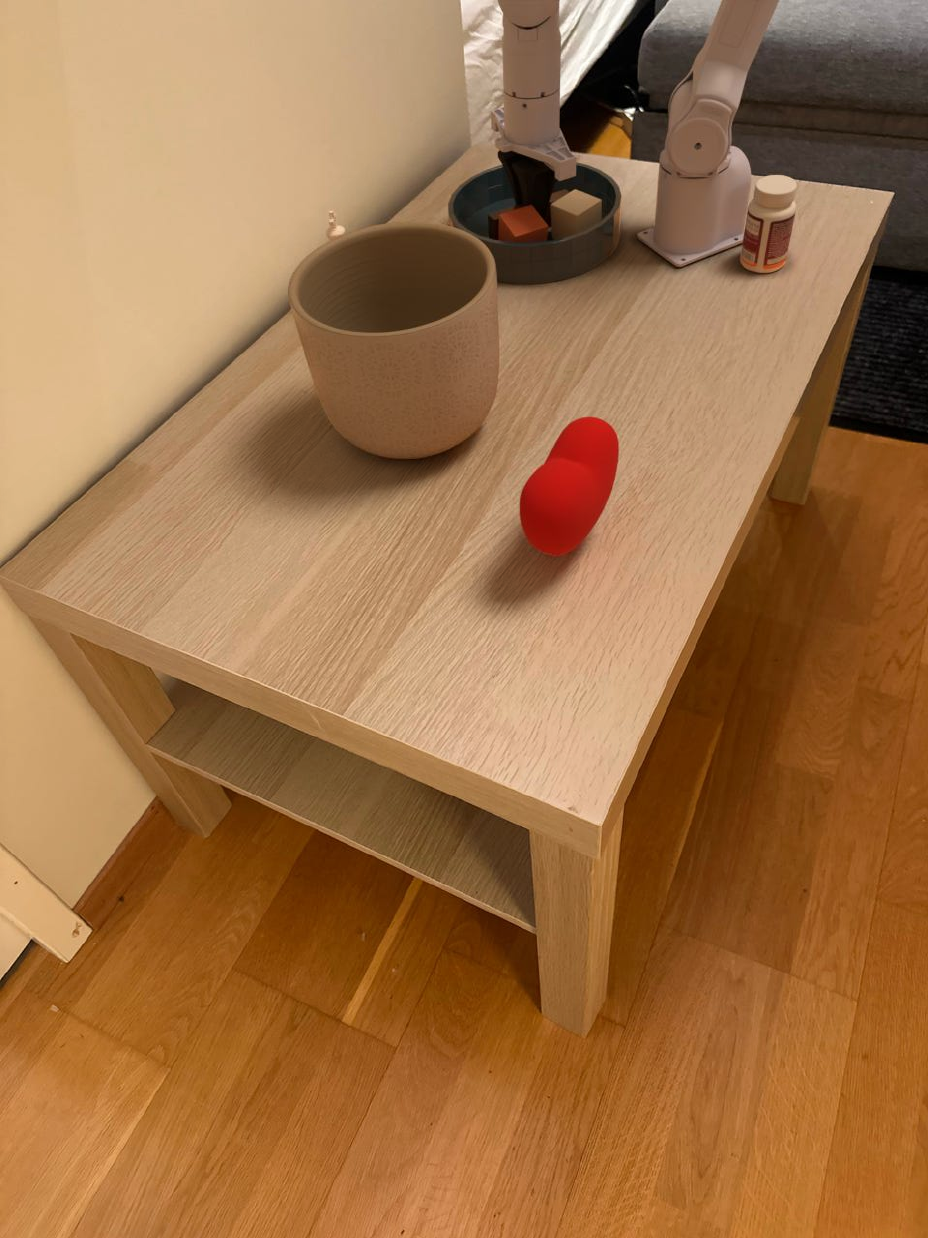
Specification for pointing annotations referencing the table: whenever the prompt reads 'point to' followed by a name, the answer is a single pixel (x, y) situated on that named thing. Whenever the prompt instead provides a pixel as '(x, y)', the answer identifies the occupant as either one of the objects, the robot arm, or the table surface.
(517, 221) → the terracotta block
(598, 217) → the cream block
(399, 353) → the planter
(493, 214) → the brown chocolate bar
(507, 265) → the bowl
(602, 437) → the heart
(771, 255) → the pill bottle
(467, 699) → the table surface
